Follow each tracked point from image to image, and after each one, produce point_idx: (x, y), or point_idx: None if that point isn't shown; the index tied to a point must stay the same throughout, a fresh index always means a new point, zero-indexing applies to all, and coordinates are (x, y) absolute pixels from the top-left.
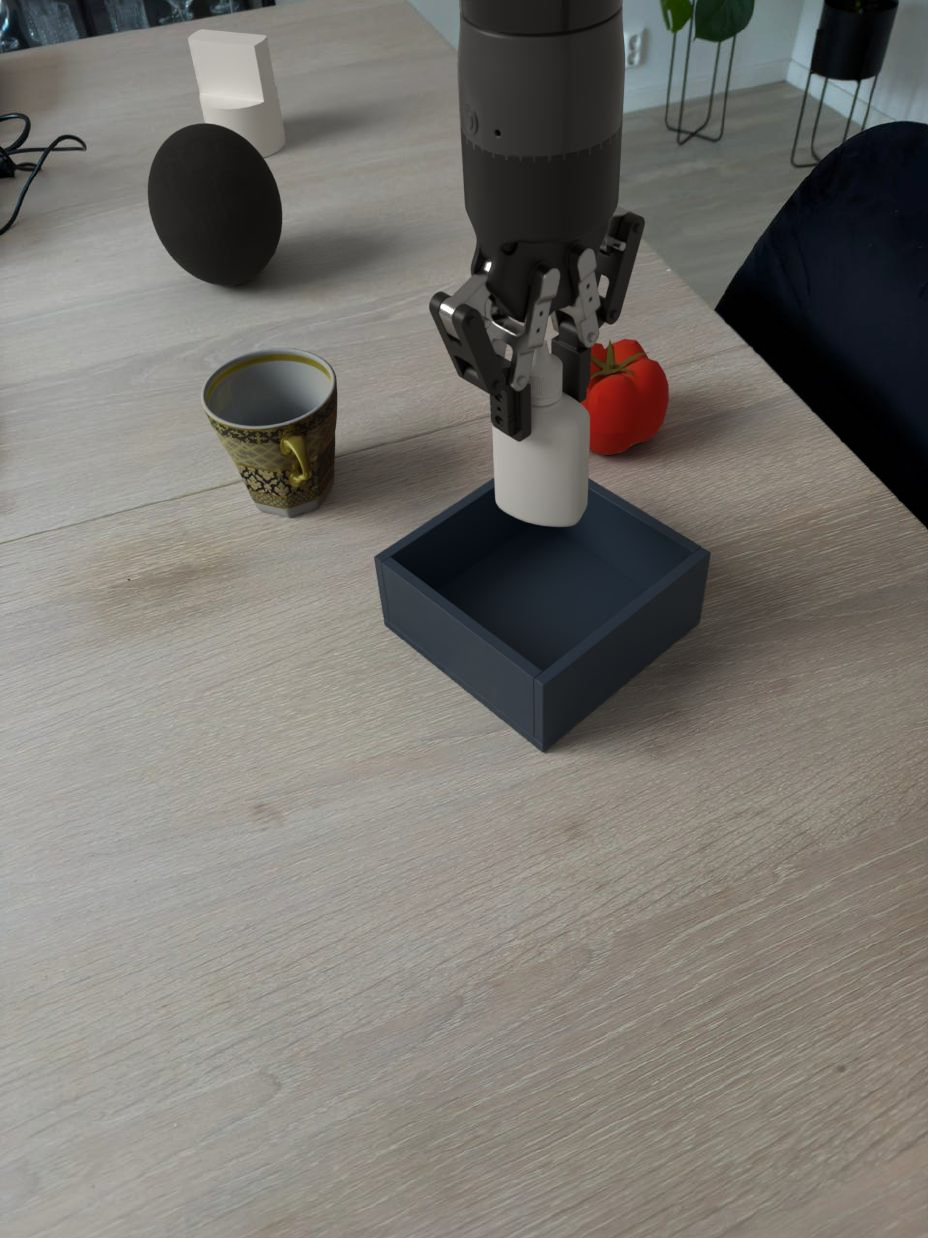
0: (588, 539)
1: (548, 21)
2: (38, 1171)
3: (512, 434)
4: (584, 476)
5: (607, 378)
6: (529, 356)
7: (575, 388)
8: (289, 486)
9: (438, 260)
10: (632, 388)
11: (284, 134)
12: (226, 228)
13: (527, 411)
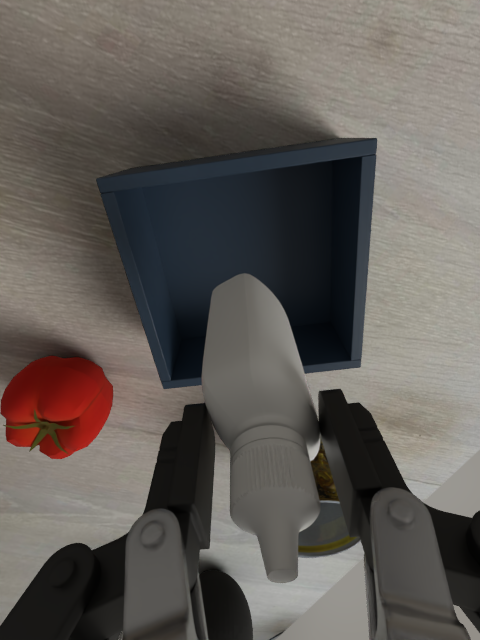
0: (166, 297)
1: None
2: None
3: (356, 405)
4: (227, 306)
5: (58, 419)
6: (398, 582)
7: (203, 431)
8: (321, 448)
9: (95, 541)
10: (42, 400)
11: (122, 635)
12: (221, 622)
13: (345, 432)
